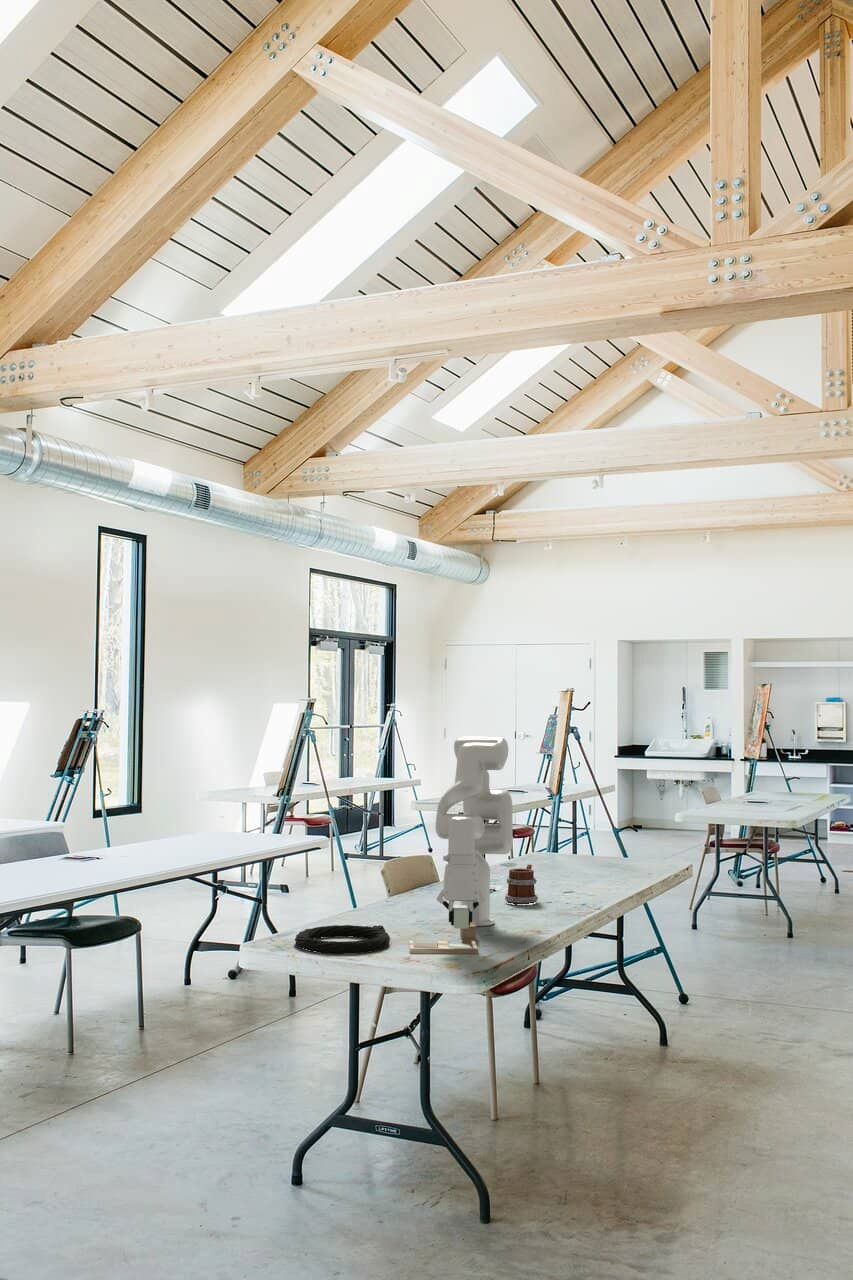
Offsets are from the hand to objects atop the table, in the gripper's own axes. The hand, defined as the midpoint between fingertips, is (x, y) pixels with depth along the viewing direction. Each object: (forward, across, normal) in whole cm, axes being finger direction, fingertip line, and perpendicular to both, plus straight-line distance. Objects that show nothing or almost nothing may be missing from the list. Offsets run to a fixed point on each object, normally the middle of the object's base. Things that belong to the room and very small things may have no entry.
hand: (460, 924), depth 316 cm
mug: (+6, +27, +79) cm, 84 cm away
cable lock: (+7, -33, +5) cm, 34 cm away
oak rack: (+7, -5, 0) cm, 8 cm away
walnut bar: (+7, +3, +12) cm, 14 cm away
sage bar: (0, 0, 0) cm, 0 cm away
